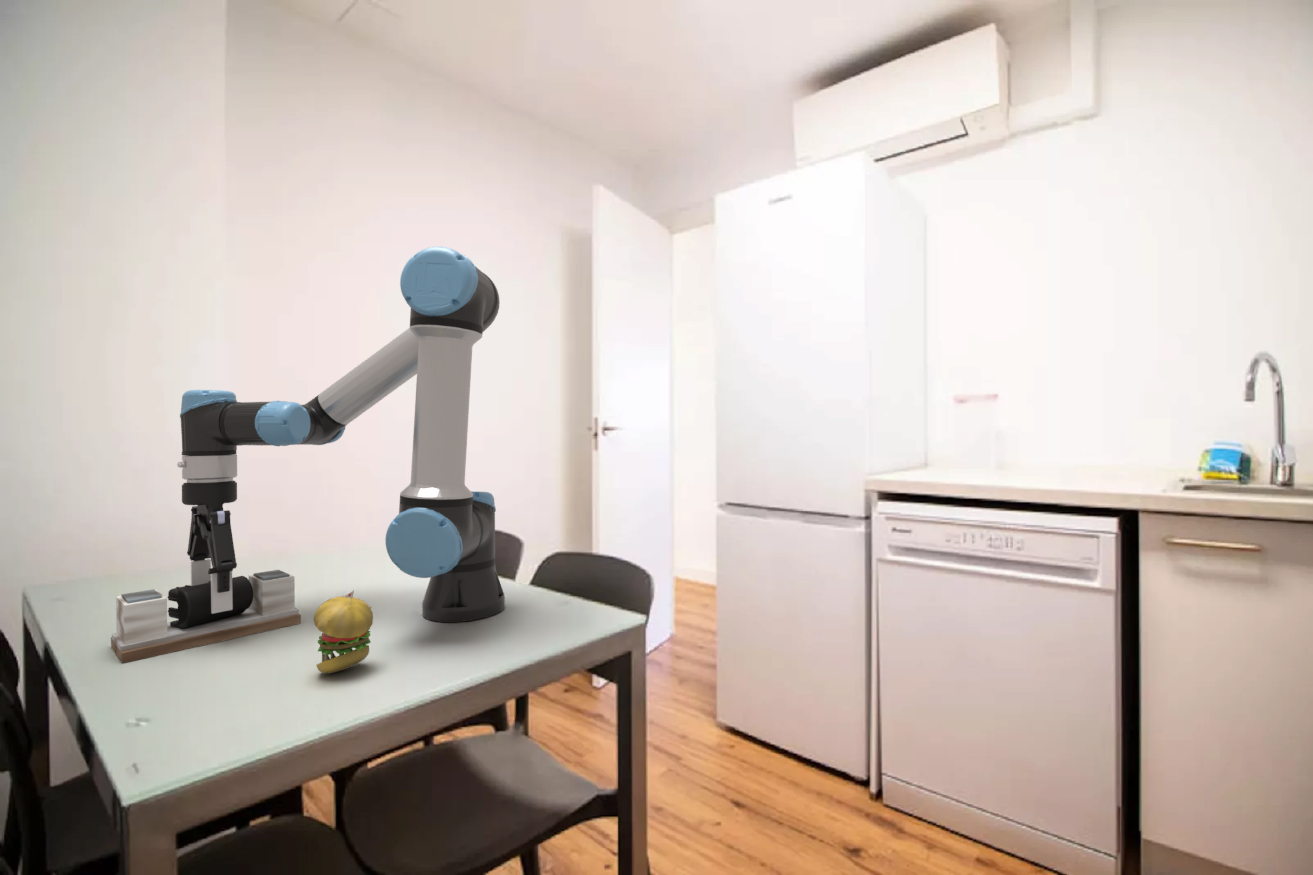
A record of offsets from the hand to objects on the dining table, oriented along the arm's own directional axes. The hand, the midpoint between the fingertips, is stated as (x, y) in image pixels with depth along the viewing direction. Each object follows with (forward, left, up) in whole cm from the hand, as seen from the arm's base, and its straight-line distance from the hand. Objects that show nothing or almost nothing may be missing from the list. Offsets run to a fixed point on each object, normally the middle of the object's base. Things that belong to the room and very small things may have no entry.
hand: (211, 604), depth 99 cm
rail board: (0, 0, -5) cm, 5 cm away
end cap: (0, 0, -3) cm, 3 cm away
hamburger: (-35, -8, -5) cm, 36 cm away
